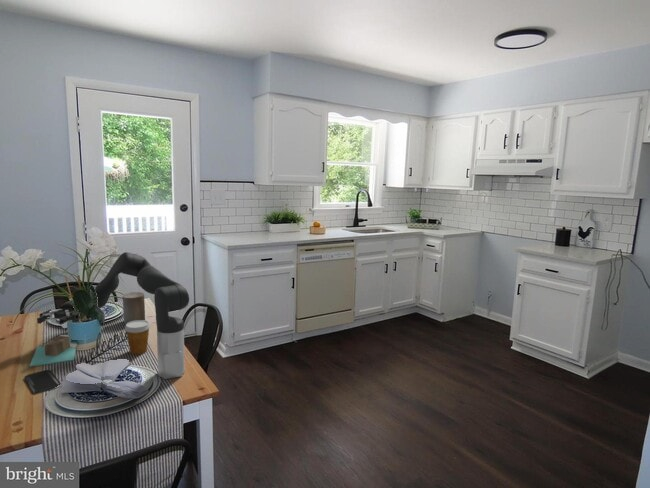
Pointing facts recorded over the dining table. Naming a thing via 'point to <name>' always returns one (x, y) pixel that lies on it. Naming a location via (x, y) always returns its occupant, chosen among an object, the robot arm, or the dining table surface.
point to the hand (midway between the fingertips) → (49, 321)
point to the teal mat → (51, 357)
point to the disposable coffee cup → (137, 336)
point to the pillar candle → (133, 307)
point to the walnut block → (57, 345)
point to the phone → (42, 381)
